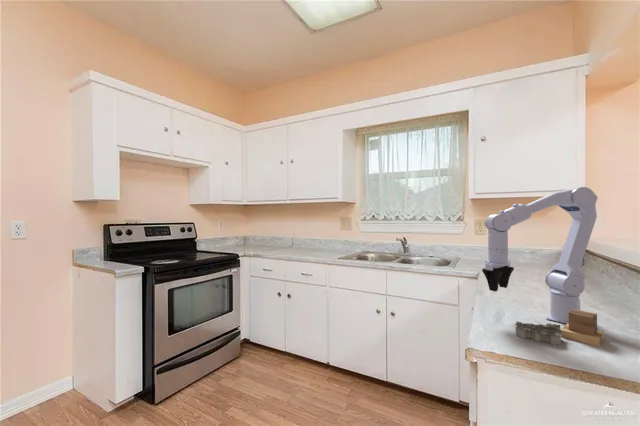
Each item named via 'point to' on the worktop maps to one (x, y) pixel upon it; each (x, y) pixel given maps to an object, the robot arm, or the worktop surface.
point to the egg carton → (540, 332)
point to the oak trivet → (583, 336)
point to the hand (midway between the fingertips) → (498, 289)
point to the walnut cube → (583, 322)
